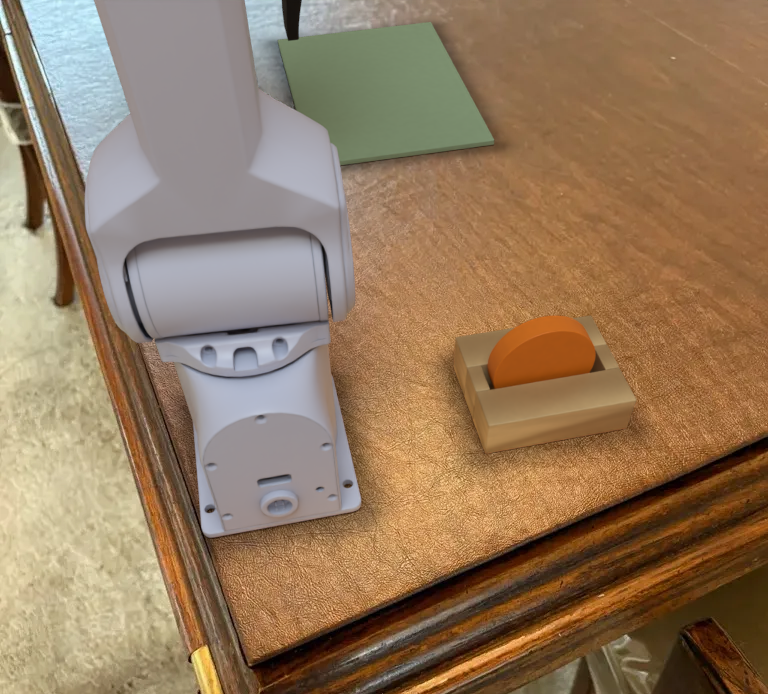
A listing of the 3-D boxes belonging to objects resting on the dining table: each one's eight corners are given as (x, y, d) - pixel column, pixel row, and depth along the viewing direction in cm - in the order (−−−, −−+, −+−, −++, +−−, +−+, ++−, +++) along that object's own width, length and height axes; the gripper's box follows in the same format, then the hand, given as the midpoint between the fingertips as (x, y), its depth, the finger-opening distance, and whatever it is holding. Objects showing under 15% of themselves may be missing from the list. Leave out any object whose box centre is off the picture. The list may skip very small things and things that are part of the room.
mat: (494, 144, 60) (494, 140, 60) (311, 169, 58) (311, 164, 58) (430, 26, 72) (430, 21, 72) (278, 44, 70) (277, 39, 70)
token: (588, 394, 44) (602, 321, 40) (491, 415, 44) (495, 343, 39) (581, 379, 45) (594, 305, 41) (485, 399, 45) (488, 327, 40)
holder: (627, 429, 43) (637, 399, 41) (484, 454, 42) (488, 425, 40) (583, 344, 47) (591, 314, 45) (452, 366, 46) (455, 336, 44)
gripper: (317, -271, 42) (334, 0, 53) (38, -251, 41) (114, 24, 51) (338, -238, 38) (352, 49, 49) (28, -215, 36) (113, 76, 47)
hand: (231, 40), depth 50 cm, fingers open, 7 cm apart
